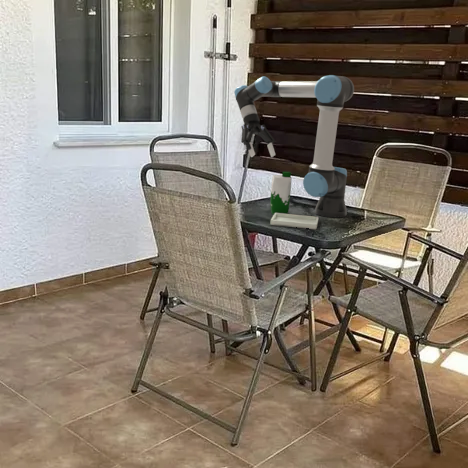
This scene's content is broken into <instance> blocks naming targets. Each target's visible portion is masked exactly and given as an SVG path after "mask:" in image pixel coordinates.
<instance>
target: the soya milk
mask: <svg viewBox="0 0 468 468" xmlns="http://www.w3.org/2000/svg"><path fill="white" fill-rule="evenodd" d="M271 178H272V179H271V186H270V198H269V199H270V202H269V203H270V206H269V207H270V213H271V215H272V216H273V215H274V214H275V213H283V214H289V210H290V202H291V191H292V189H291V188H292V178H293V177H292V172H291V171H282V174H272V177H271Z"/></svg>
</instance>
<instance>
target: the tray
mask: <svg viewBox="0 0 468 468" xmlns="http://www.w3.org/2000/svg"><path fill="white" fill-rule="evenodd" d="M318 224H319V216H313V215H312V216H311V215H303V214H302V215H301V214H293V213H292V214H291V213H288V214H283V213H275V214H274V215H273V214H272V217H271V219H270V224H269V225H270V226H276V227H288V228H296V227H297V229H306V228H309V229H308V230H317V229H318V228H317V227H318Z"/></svg>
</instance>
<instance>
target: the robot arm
mask: <svg viewBox="0 0 468 468" xmlns="http://www.w3.org/2000/svg"><path fill="white" fill-rule="evenodd" d="M233 92H234V97H235V101H236V102H237V105H238V109H239V112H240V114H241V117H242V120H243V123H244V124H242V125H241V130H242V131H241V140H240V141H241V144H243V146H246V149H247V150H248V153H249V156H250V158H253V157H254V156H255V155H256V152H255V149H254V146H253V143H252V141H251V138H252V136H253V135H256V136H259V137H260V138H262V140H263V141H264V142H265V143H266V145H267V149H268V152H269V155H270V158H274V156H276V152H275V146H274V144H273V143H275V142H276V140H275V138H274V137H273V135H272V134H271V133H270V132H269V130H268V129H267V127H266V124H262V125H261V124H260V118H259V115H258V112H257V111H258V110H257V109H256V105H255V101H257V100H259V99H260V98H262V97H263V98H264V97H268V98H270V97H271V98H281V97H282V98H316V99H317V101H316V107H318V110H319V116H318V122H317V130H316V137H315V147H314V154H313V159H312V160H313V161H312V163H311V164H310V165H309V166H308V173H307V174H306V175H305V176H304V177H303V180H302V181H303V182H302V184H303V188H304V191H305V192H306V193H307V194H308V195H309V196H311V197H314V198H319V199H318V201H317V203H316V206H315V209H314V214H316V215H317V216H321V217H327V218H345V217H346V216H347V214H348V213H347V212H348V210H347V206H346V202H345V198H346V197H345V196H346V195H345V194H346V187H347V186H346V185H347V179H348V178H347V177H348V171H347V169H346V168H343V167H337V166H333V162H334V161H333V160H334V152H335V145H336V137H337V131H338V130H337V128H338V122H339V117H340V116H339V115H340V111H341V110H343V108H344V104H345V102H347V101H349V100H350V99H351V98H352V97H353V95H354V92H355V86H354V83H353V81H352V80H351V79H350V78H348V77H346V76H345V75H344V76H343V75H342V76H341V75H334V74H329V75H324V76H322V77H320V79H318V80H315V81H313V80H311V81H309V80H308V81H307V80H306V81H304V80H297V81H296V80H293V81H292V80H287V81H285V80H283V81H281V80H280V81H279V80H276V81H275V80H270V78H269V77H267V76H263V75H262V76H261V77H259V78H257V80H255V81H254V82H252V83H251V84H250V85H246V84H245V85H244V84H243V85H240V86H237V87H236V88H235V89H234V91H233Z"/></svg>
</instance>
